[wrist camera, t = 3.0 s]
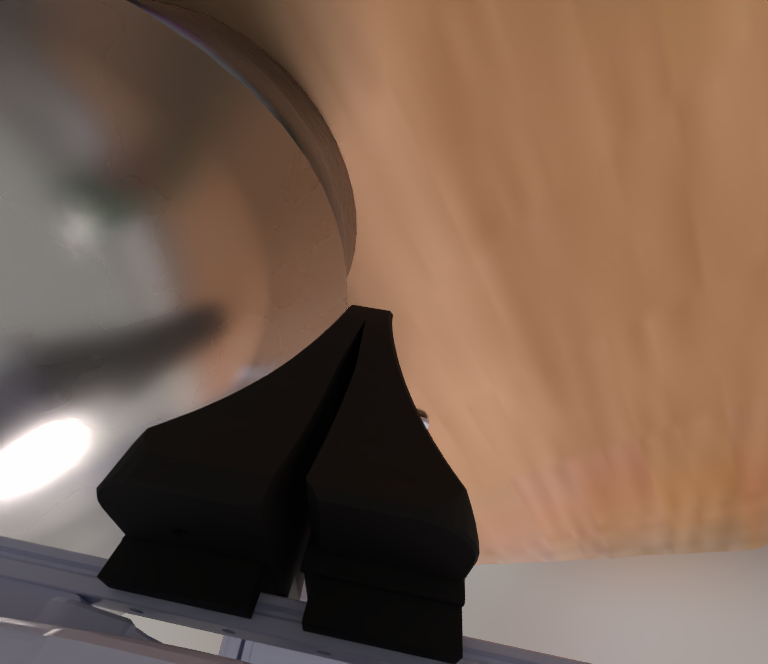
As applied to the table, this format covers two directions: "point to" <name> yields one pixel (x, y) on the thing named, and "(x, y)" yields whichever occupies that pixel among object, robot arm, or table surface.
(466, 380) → the table surface
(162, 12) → the cooker body
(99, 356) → the lid
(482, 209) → the table surface
